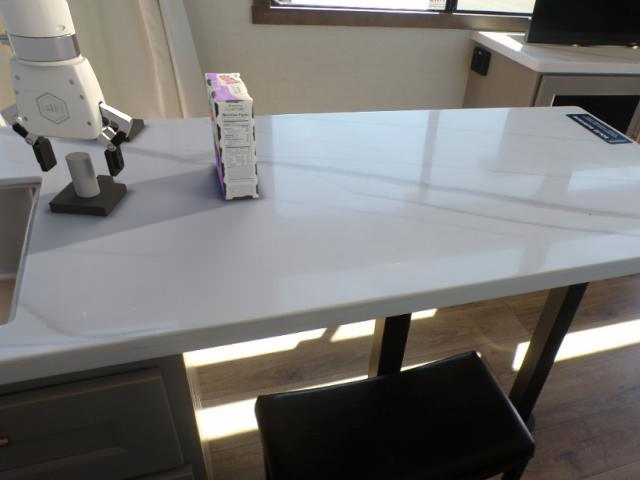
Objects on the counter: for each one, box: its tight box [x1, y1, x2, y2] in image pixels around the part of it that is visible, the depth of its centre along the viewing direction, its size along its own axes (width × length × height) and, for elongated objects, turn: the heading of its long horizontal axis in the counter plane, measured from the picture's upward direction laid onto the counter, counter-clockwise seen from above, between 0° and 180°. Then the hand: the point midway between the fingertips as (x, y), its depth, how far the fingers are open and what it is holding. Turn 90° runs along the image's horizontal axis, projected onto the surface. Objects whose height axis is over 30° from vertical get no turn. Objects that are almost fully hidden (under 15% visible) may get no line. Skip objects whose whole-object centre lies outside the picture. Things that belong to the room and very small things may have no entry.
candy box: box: [204, 72, 260, 201], centre depth 86 cm, size 14×6×16 cm, turn 21°
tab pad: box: [48, 151, 128, 217], centre depth 80 cm, size 8×10×8 cm
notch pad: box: [110, 117, 146, 142], centre depth 102 cm, size 8×8×2 cm
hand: (83, 170), depth 78 cm, fingers open, 9 cm apart
